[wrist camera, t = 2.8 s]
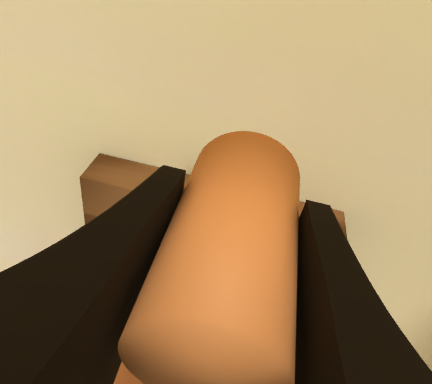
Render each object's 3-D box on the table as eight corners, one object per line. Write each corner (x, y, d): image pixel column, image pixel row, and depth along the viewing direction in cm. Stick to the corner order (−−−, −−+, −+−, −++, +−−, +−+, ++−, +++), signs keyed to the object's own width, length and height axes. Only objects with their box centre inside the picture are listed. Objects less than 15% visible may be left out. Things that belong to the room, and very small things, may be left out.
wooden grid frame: (343, 212, 17) (347, 242, 15) (257, 377, 28) (255, 403, 27) (99, 153, 17) (79, 177, 16) (112, 338, 29) (101, 362, 27)
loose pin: (314, 146, 10) (321, 352, 5) (283, 226, 12) (268, 426, 7) (202, 119, 10) (115, 298, 6) (190, 203, 12) (119, 385, 8)
